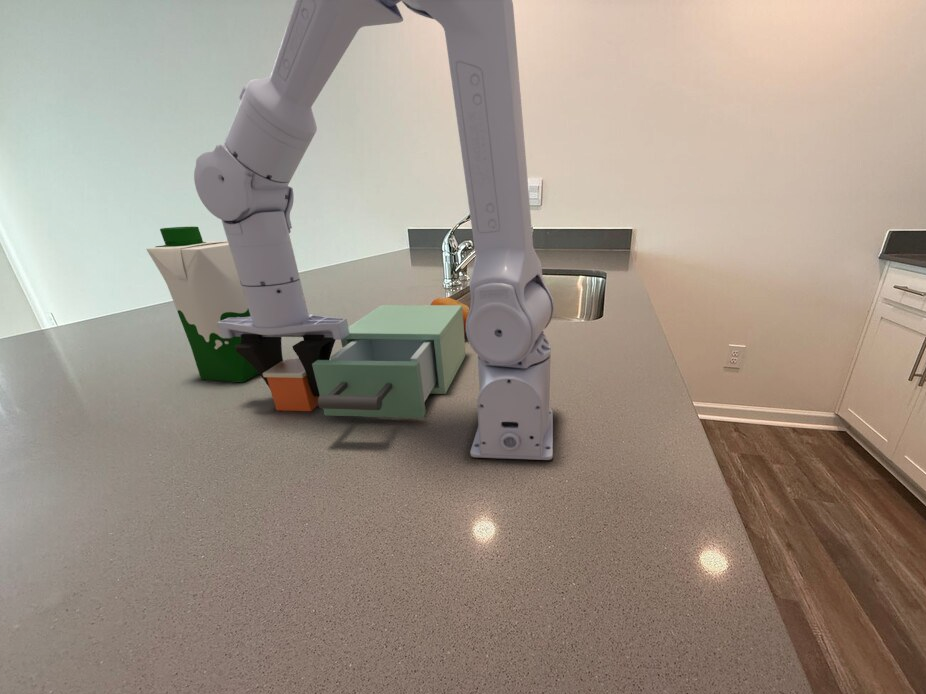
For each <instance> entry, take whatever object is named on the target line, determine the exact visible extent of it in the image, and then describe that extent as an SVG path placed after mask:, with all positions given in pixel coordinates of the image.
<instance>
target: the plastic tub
mask: <svg viewBox="0 0 926 694" xmlns="http://www.w3.org/2000/svg"><path fill="white" fill-rule="evenodd" d="M263 377H267V380H268V383H269V387H270V388H269V387H268V388H269V390H270V393H271V396H272V399H273V403H274V405H275V410H276V411H283V412H284V411H285V412H312V411H314V410H315V408H316V407H318V398H319V397H318V396H314V395H313V393H312V391H311V389H310V385H309V381H308V378H307V374H306V371H305V369H304V367H303V365H302V363H301V361H300V359H299V357H297V358H296V357H286V358H285V359H283V361H282V362H280V363H278V364H277V365H275V366H274V367H272V368H270V369H269V370H267V371H266V372H264V373H263Z"/></svg>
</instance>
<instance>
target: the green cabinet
mask: <svg viewBox="0 0 926 694" xmlns="http://www.w3.org/2000/svg"><path fill="white" fill-rule="evenodd" d="M348 328H349V333H350V334H349V335H348V336H346V337H345V338H343V339H342V340H340V343H341V347H342V348H343V347H345V346H346V345H347V344H349V343H350V342H351V341H353V340H354V339H398V340H434V347H435V356H436V365H437V374H438V381H437V382H436V384H435V386H434V387H433V389H432V390H431V392H430V394H429V395H446V394H447V392H448V390H449V388H450V386H451V385H452V382H453V380H454V379H455V376H456V375H457V373H458V371H459V369H460V367H461V365H462V363H463V361H464V360H465V358H466V355H467V354H466V353H467V352H466V339H465V336H464V324H463V311H462V305H431V304H381V305H379V306H378V307H376V308H375V309H373V310H372V311H370V312H368V313H367V314H365V315H364V316H363V317H361V318H360V319H358V320H357V321H355V322H354V323H353V324H350V325H348ZM342 348H341V349H342Z"/></svg>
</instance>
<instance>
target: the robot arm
mask: <svg viewBox="0 0 926 694" xmlns="http://www.w3.org/2000/svg"><path fill="white" fill-rule="evenodd" d="M401 2H402V4H403V5H404V6H405V7H406V8H407V9H408V10H410V11H411V12H412V13H414V14H416V15H419V16H421V17H425V18H426V19H427V18H429V19H431V20H434V21H437V23H439V25H441V27H442V28H443V31H444V36H445V43H446V51H447V59H448V64H449V74H450V80H451V87H452V94H453V101H454V109H455V116H456V123H457V130H458V137H459V138H458V139H459V145H460V153H461V159H462V167H463V173H464V181H465V187H466V188H465V189H466V195H467V202H468V203H467V204H468V210H469V216H470V226H471V232H472V238H473V239H472V240H473V246H474V253H475V258H474V263H473V267H472V271H471V275H470V280H469V286H468V287H469V293H470V307H469V309H470V311H469V313H468V316H467V319H466V335H465V336H466V338H467V342H468V343H469V345H470V348H471V349H472V350H473V352H474V353H475V354H476V355H477V368H478V384H479V386H478V387H479V392H478V395H477V399H476V400H477V402H476V405H477V407H476V408H477V409H476V410H477V422H478V423H477V424H478V426H477V429H476V432H475V435H474V439H473V441H472V445H471V448H470V457H471V458H479V459H507V460H533V461H534V460H536V461H550V460H552V459H553V457H554V439H553V438H554V416H553V415H554V412H553V411H554V410H553V409H552V408H550V402H551V399H550V398H551V397H550V395H551V349H552V346H551V344H550V343H549V340H548V338H547V336H546V335H545V333H544V332H545V331H544V330H546V329H547V327H548V326H549V325H550V323H551V321H552V319H553V317H554V312H555V302H554V297H553V296H552V293H551V292H550V290H549V288H548V287H547V285H546V283H545V280H544V276H543V265H542V262H541V259H540V258H539V256H538V254H537V253H536V249H535V247H534V239H533V229H532V228H533V227H532V217H531V204H530V203H531V202H530V191H529V180H528V167H527V156H526V154H527V153H526V143H525V132H524V130H525V129H524V120H523V119H524V117H523V108H522V107H523V106H522V99H521V98H522V95H521V84H520V70H519V60H518V47H517V35H516V23H515V21H516V20H515V10H514V2H513V0H294V2H293V6H292V9H291V12H290V15H289V19H288V21H287V24H286V27H285V30H284V33H283V35H282V39H281V42H280V45H279V49H278V52H277V55H276V58H275V61H274V64H273V67H272V70H271V73H270V76H267V77H264V78H256V79H252V80H251V79H250V81H248V82H247V85H246V86H243V87H242V89H241V91H240V94H239V100H240V102H239V105H238V107H237V109H236V112H235V115H234V117H233V120H232V122H231V125H230V127H229V129H228V132H227V134H226V137H225V139H224V142H223V144H219V145H218V144H217V145H216V146H215V148H214V149H213V150H212V151H205V152H203V153H201V154H200V155H198V157H197V158H196V159H195V168H194V173H193V180H194V185H195V191H196V192H197V195H198V197H199V199H200V201H201V202H202V204H203V206H204V207H205V208H206V210H207V211H208V212H209V213H210V214H212V215H213V216H214V217H216V218H217V219H219V220H221V224H222V227H223V230H224V234H225V237H226V241H228V244H229V247H230V250H231V253H232V257H233V260H234V263H235V267H236V270H237V273H238V276H239V280H240V283H241V286H242V290H243V293H244V296H245V299H246V302H247V306H248V309H249V312H250V316H251V317H237V318H227V319H224V320H222V321H219V322H217V325H218V328H219V331H220V334H221V337H222V338H232V337H234V336H239V337H241V339H242V340H241V343H239V344H237V345H236V346H235V349H236V352H237V353H238V354H240V355H241V356H242V357H244V358H245V359H246V360H247V361H248V362H249V363H250V364H251V365H252V366H253V367H254V368H255V369H256V370H257V371H258V373H259V374H258V375H260V377H261V378H262V379H263V381H264V382H265V384H266V385H267V386H268V388H269V389H270V387H269V383H268V380H267V377H263V373H264V372H266V371H267V370H269V369H270V368H272V367H274V366H275V365H277V364H278V363H280V362H282V361H283V360H284V357H283V349H282V348H283V347H282V338H303V340H300V341H299V342H297V343H295V344H294V345H292V350H293V352H294V353H295V355H296V356H297V358H299V359H300V361H301V363H302V365H303V367H304V369H305V371H306V374H307V378H308V381H309V385H310V389H311V391H312V393H313V395H314V396H318V397H319V396H320V394H319V390H318V386H317V382H316V378H315V374H314V370H313V366H312V364H313V363H314V362H316V361H317V360H331V356H332V352H333V348H334V345H335V344H336V340H337V341H338V340H339V341H341V340H342V339H343V338H345V337H346V336H348V335H349V334H350V333H349V328H348V327H349V324H348V319H347V318H346V317H344V318H343V317H331V316H323V315H318V314H317V315H316V314H311V313H309V311H308V306H307V302H306V297H305V293H304V289H303V285H302V281H301V278H300V274H299V270H298V269H299V268H298V265H297V261H296V256H295V253H294V249H293V244H292V240H291V235H290V234H291V232H292V231H291V230H292V229H293V226H292V222H291V212H292V209H293V206H294V200H295V199H294V198H295V197H294V196H295V195H294V189H293V187H292V186H289V184H290V182H291V180H292V178H293V177H294V175H295V173H296V171H297V169H298V168H299V165H300V164H301V161H302V160H303V158H304V155H305V153H306V152H307V150H308V148H309V146H310V145H311V142H312V141H313V139H314V137H315V135H316V133H317V129H318V127H317V122H316V118H315V115H314V112H313V108H312V107H313V105H314V103H315V102H316V100H317V98H318V97H319V95H320V94H321V92H322V90H323V89H324V87H325V85H326V84H327V82H328V81H329V79H330V77H331V76H332V74H333V73H334V71H335V69H336V68H337V66H338V64H339V63H340V61H341V60H342V58H343V56H344V55H345V53H346V51H347V50H348V48H349V47H350V46H351V43H352V42H353V40H354V38H355V37H356V35H357V33H358V32H359V30H361V29H362V28H365V27H372V26H374V27H375V26H382V25H393V24H399V23H402V22H403V21H404V17H403V15H402V13H401V11H400V9H399V7H398V4H399V3H401Z"/></svg>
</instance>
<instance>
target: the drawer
mask: <svg viewBox="0 0 926 694" xmlns="http://www.w3.org/2000/svg"><path fill="white" fill-rule="evenodd" d="M312 366H313V370H314V374H315V378H316V382H317V386H318V390H319V394H320V396H319V398H318V405H317V407H318V408H319V409H322V410H323V415H324V416H331V417H332V416H335V417H336V416H337V417H338V416H339V417H367V418H368V417H369V418H371V417H372V418H373V417H374V418H406V419H410V418H411V419H423V418H424V417H425V415H426V413H427V411H426V405H425V402H426V400H427V399H428V397H429V395H431V394H430V392H431V390H432V389H433V387H434V386H435V384H436V382H437V381H438V374H437V365H436V356H435V347H434V340H398V339H354V340H353V341H351V342H350V343H349V344H347V345H346V346H345V347H343V348H341V349H339V350H338V351H336V352H335V353H334V354H332V355H331V356H330V360H317V361H316V362H314V363H313V364H312Z"/></svg>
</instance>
